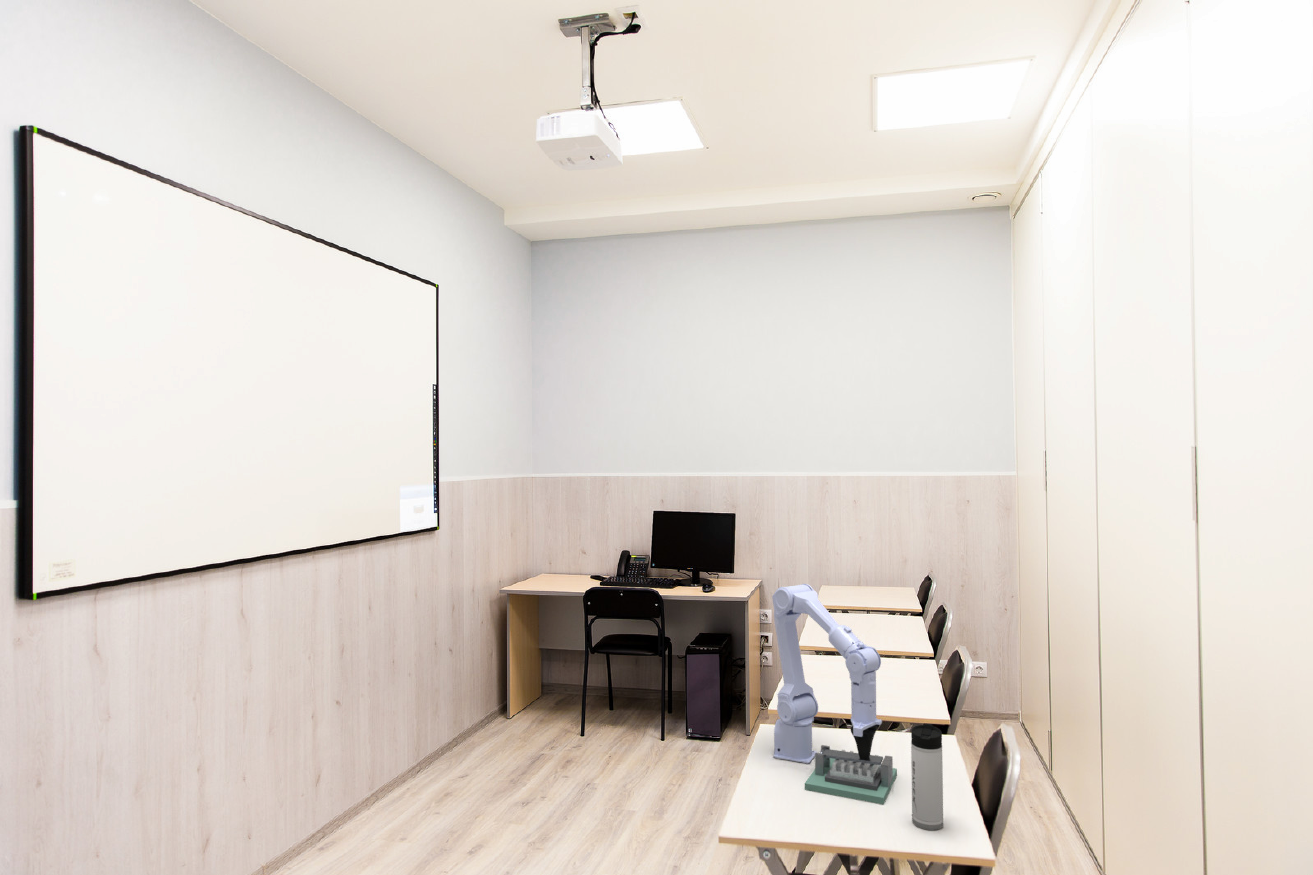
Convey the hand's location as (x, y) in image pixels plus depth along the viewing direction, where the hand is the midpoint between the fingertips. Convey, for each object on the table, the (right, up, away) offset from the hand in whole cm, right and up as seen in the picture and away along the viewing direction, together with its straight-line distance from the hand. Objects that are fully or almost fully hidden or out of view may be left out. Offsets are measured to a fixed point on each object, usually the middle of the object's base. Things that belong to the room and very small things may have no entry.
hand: (864, 757), depth 185 cm
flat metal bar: (-3, -1, +1) cm, 3 cm away
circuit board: (-3, -6, +1) cm, 7 cm away
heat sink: (-2, -5, +1) cm, 5 cm away
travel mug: (+8, -6, -20) cm, 22 cm away
